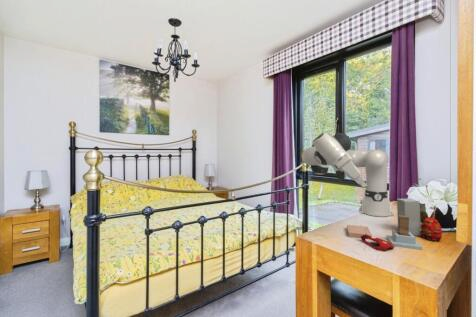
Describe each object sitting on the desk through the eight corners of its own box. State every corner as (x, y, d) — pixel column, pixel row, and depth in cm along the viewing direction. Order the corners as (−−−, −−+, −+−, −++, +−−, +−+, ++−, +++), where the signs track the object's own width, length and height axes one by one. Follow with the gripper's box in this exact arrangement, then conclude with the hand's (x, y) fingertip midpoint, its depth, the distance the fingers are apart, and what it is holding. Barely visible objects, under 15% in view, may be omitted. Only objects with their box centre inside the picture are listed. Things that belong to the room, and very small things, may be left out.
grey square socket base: (386, 237, 106) (386, 228, 106) (413, 240, 103) (413, 231, 103) (392, 246, 97) (392, 236, 97) (422, 249, 94) (422, 239, 93)
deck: (346, 228, 118) (346, 224, 118) (367, 231, 115) (367, 226, 115) (348, 236, 107) (348, 232, 107) (371, 239, 104) (371, 235, 104)
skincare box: (421, 236, 108) (422, 201, 108) (403, 235, 110) (404, 200, 109) (411, 230, 116) (413, 198, 116) (395, 229, 118) (396, 197, 117)
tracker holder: (392, 242, 99) (398, 244, 90) (389, 252, 99) (395, 256, 90) (360, 230, 104) (363, 232, 95) (357, 240, 104) (360, 243, 95)
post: (397, 238, 102) (398, 215, 102) (406, 239, 101) (407, 216, 101) (399, 241, 99) (400, 217, 99) (408, 242, 98) (409, 217, 98)
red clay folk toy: (416, 236, 108) (417, 203, 108) (427, 235, 110) (428, 202, 110) (434, 242, 101) (436, 207, 101) (446, 241, 103) (447, 206, 103)
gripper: (336, 167, 120) (356, 190, 116) (335, 165, 101) (360, 191, 97) (346, 159, 118) (367, 181, 114) (348, 155, 100) (373, 181, 95)
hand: (364, 186), depth 105 cm, fingers open, 8 cm apart
